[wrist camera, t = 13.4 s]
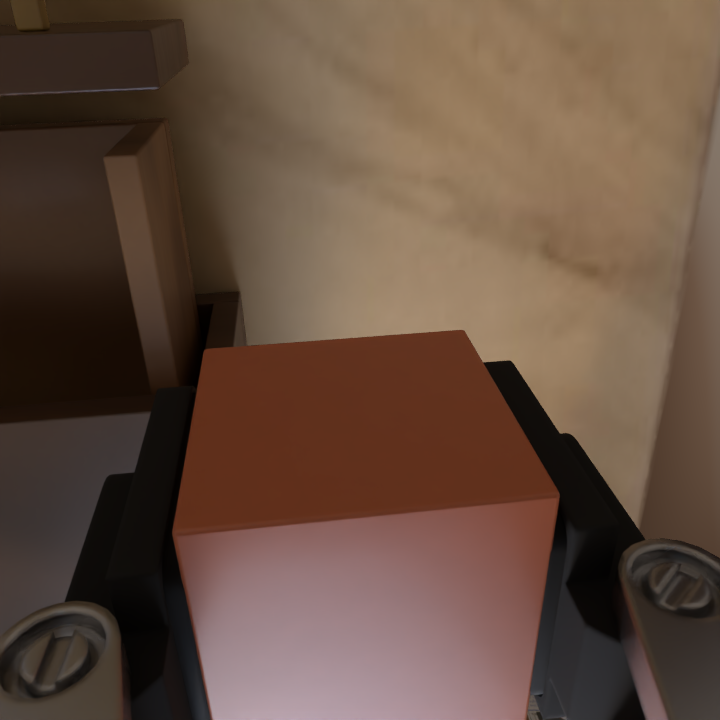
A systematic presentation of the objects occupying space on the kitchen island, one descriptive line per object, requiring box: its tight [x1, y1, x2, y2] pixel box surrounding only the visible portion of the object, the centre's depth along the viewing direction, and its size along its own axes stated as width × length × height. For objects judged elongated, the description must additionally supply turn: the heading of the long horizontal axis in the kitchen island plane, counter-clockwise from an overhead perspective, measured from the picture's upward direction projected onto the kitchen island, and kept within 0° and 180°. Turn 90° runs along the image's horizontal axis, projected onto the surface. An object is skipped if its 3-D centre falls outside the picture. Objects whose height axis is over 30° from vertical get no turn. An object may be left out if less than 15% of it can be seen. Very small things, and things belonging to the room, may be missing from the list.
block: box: [172, 330, 560, 720], centre depth 10 cm, size 4×4×4 cm
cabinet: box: [0, 292, 247, 636], centre depth 24 cm, size 15×13×8 cm
